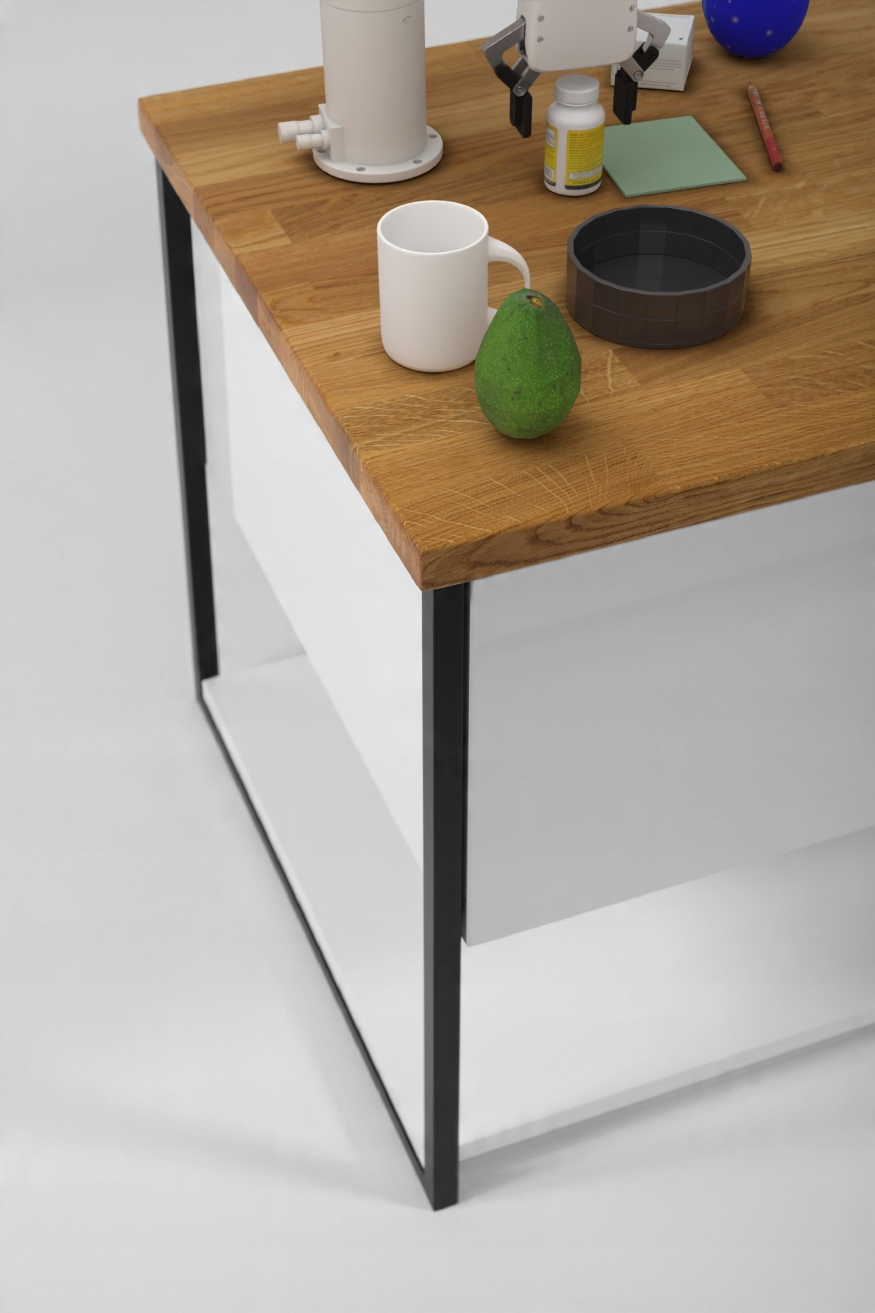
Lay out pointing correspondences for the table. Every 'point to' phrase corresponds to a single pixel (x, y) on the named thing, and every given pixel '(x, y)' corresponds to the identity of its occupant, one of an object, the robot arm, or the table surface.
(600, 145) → the supplement bottle
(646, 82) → the small box
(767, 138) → the pencil
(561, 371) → the avocado
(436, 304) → the mug
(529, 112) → the robot arm
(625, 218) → the pan
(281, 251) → the table surface
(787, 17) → the ornament
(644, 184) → the cloth
